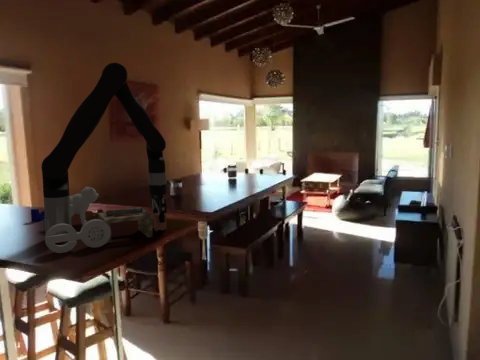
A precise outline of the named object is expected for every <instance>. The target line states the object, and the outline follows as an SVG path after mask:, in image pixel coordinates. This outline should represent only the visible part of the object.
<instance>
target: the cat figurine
mask: <svg viewBox="0 0 480 360" xmlns="http://www.w3.org/2000/svg"><path fill="white" fill-rule="evenodd" d="M98 197H101V196H100V195H99V193H98V192H97V191H96V189H95V188H94V187H91V186H85V187H84V188H83V189H81V190H80V192H79V193H75V194H72V195H70V209H71V219H72V218H73V216H75V215H79V218H80V221H81V225H82V226H83V225H84V224H85V223H86V222H88V220H86V213H87V211H88V209H89V207H90V205H91V204H92V203H94V202H96V201H97V199H98ZM42 221H45V219H43V220H42ZM71 226H72V227H73V225H72V224H71Z"/></svg>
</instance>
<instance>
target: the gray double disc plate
mask: <svg viewBox="0 0 480 360" xmlns="http://www.w3.org/2000/svg"><path fill="white" fill-rule="evenodd" d="M99 227H100V228H99ZM102 229H103V231H101V230H102ZM59 231H67V232H68V234H60V235H55V234H56V233H57V232H59ZM101 234H103V235H102V236H101ZM49 235H53V236H49ZM89 236H90V237H89ZM110 236H111V237H112V228H111V229H110V227H109V225H108V224H107V223H105V222H104V221H102V220H99V218H97V219H96V218H95V219H90V220H87V222H86V223H85V224H84V225H82V226H81V228H80V231H77V230H76V229H75V228H74V227H73V225H72V226H70V225H68V224H64V223H61V224H56V225H54V226H52V227H51V228H50V229H49V230H48V231H47V233H46V232H45V236H44V242H45V245H46V247H47V248H48V249H49V250H50V251H51V252H54V253H56V254H63V253H68V252H70V251H71V250H73V249H74V247H75V246H76V245H77V244H78V240H81V241H82V243H83V244H84V245H86V246H87V247H90V248H100V247H102V246H104V245H106V244H108V243H107V241H108V240H109V238H110ZM64 242H66V243H64ZM56 243H64V244H61V245H60V244H59V245H58V244H56Z"/></svg>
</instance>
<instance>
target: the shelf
mask: <svg viewBox="0 0 480 360" xmlns="http://www.w3.org/2000/svg"><path fill="white" fill-rule="evenodd" d="M97 214H98V219H99V220H102V221H104V222H105V223H107V224H108V225H109V227H110V229H111V230H112V225H111V224H113V223H114V224H115V223H123V222H130V221H131V222H133V221H137V225H138V226H137V227H138V231H139V232H140V231H141V232H140V233H142V234H143V235H144V236H145V235H146V236H145V237H146V238H153V236H154V235H153V233H154V232H153V229H152V214H151V213H150V212H148V211H147V210H145V209H144V208H143V207H141V206H139V207H130V208H129V207H128V208H121V209H120V208H119V209H111V210H110V209H108V210H106V211H105V212H98V213H97ZM98 227H99V226H98ZM99 228H100V227H99ZM101 231H103V229H102V230H101ZM102 235H103V234H101V236H102ZM108 243H112V235H111V236H110V238H109V240H108V241H107V243H106V244H108Z"/></svg>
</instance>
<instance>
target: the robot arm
mask: <svg viewBox="0 0 480 360" xmlns="http://www.w3.org/2000/svg"><path fill="white" fill-rule="evenodd" d="M98 79H99V80H97V83H96V85H95V86H94V88H93V89H92V91H91V92H90V93H89V94H88V95H87V96H86V98H85V99H84V100H83V101H82V102H81V104H80V105H79V106H78V107H77V109H76V110H75V112H74V113H73V115H72V116H71V118H70V120H69V121H68V124H67V125H66V127H65V130H64V132H63V134H62V136H61V138H60V140H59V142H58V143H57V145H55V147H54V148H53V149H52V151H51V152H50V153H49V154H48V155H46V156H45V158H44V159H43V160H42V162H41V166H40V167H41V174H42V194H43V195H42V196H43V207H44V210H43V211H45V220H44V229H45V234H46V233H47V231H48V230H49V229H50V228H51V227H52V226H54V225H56V224H61V223H64V224H68V225H70V226H71V225H72V218H71V209H70V196H71V195H70V194H71V193H70V184H69V169H70V167H71V164H72V163H73V160H74V159H75V156H76V155H77V153H78V152H79V150H80V149H81V148H82V147H83V146H84V145H85V143H86V142H87V140H88V139H89V138H90V137H91V135H92V134H93V132H94V131H95V129H96V128H97V126H98V125H99V123H100V122H101V120H102V118H103V116H104V114H105V113H106V111H107V109H108V107H109V105H110V103H111V101H112V99H113V98H114V97H116V98H117V100H118V101H119V103H120V104H121V106H122V107H123V109H124V111H125V112H126V115H128V117H129V119H130V120H131V122H132V124H133V126H134V127H135V129H136V130H137V132H138V133H139V134H140V135H141V136H142V138H143V139H144V141H145V142H146V143H145V146H146V147H145V149H146V154H147V155H146V156H147V160H148V161H147V162H148V163H147V165H148V178H147V179H148V180H147V183H148V185H147V186H148V195H150V207H151V208H150V209H151V210H152V213H159V222H160V223H164V222H165V214H166V213H167V210H168V209H167V199H166V198H164V196H165V195H166V194H167V192H168V190H167V187H168V185H167V173H166V162H165V158H164V151H165V149H166V147H167V144H166V141H165V138H164V136H163V135H162V134H161V132H160V131H159V130H158V129H157V127H156V126H155V125H154V122H153V121H152V119H151V117H150V115H149V113H148V112H147V110H146V109H145V108H144V107H143V104H141V103H140V101H138V99H137V98H136V97H135V95H134V93H133V91H132V90H131V89H130V86H129V84H128V82H127V79H128V71H127V69H126V67H125V65H123V64H122V63H119V62H109V63H107V65H106V66H105V67H104V68H103V69H102V71H101V75H100V78H98ZM60 234H68V232H67V231H59V232H57V233H56V234H55V235H60ZM49 236H53V235H49Z"/></svg>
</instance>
